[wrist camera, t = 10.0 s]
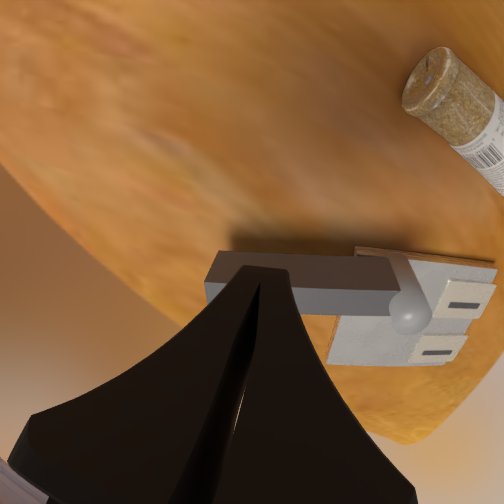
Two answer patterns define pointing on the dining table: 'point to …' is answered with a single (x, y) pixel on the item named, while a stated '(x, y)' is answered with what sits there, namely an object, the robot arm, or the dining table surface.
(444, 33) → the dining table surface
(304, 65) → the dining table surface
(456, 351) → the chassis plate
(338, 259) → the grey knobbed handle
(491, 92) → the sprinkles bottle
